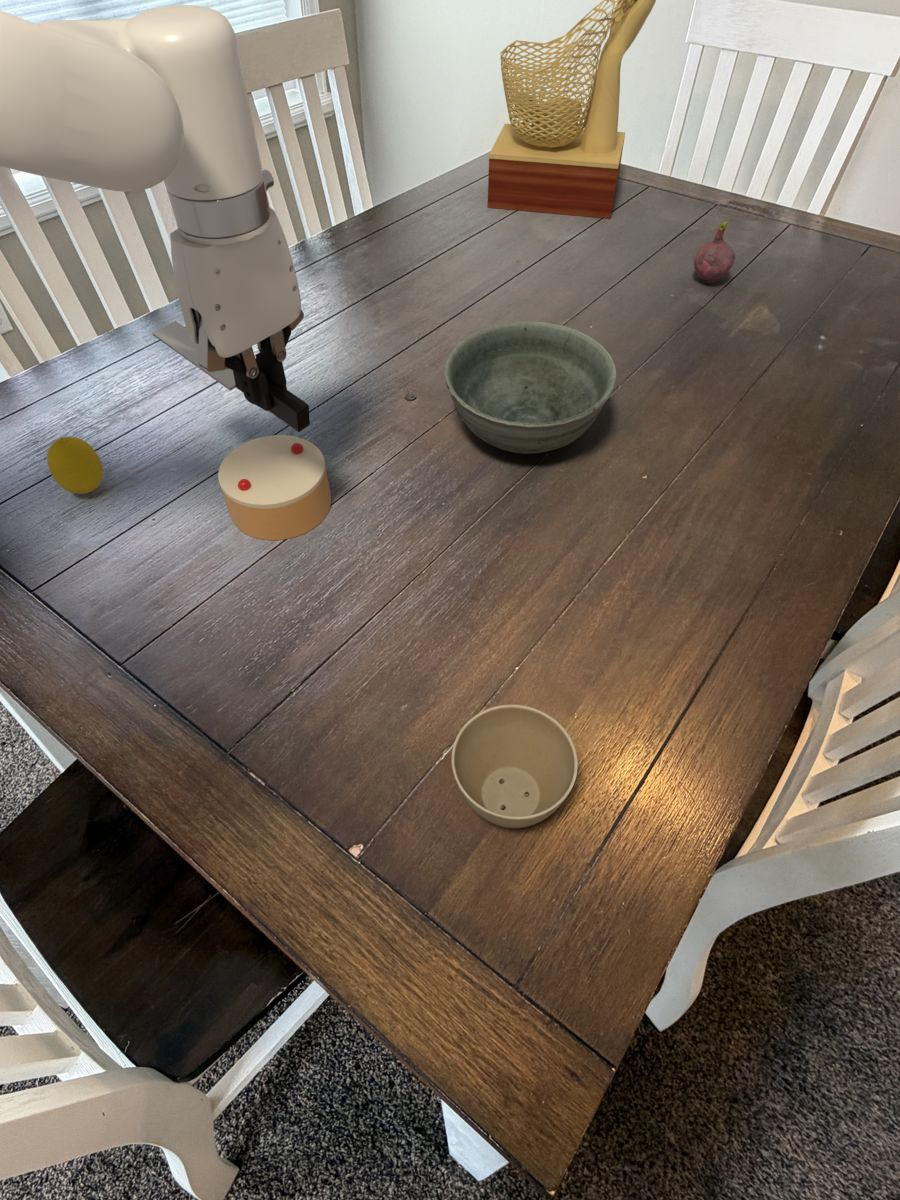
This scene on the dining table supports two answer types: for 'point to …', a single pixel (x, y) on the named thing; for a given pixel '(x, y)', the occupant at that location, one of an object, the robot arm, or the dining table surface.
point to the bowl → (529, 384)
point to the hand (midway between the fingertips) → (268, 398)
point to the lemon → (75, 465)
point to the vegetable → (714, 258)
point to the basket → (565, 121)
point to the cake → (275, 487)
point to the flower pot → (514, 765)
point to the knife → (281, 399)
